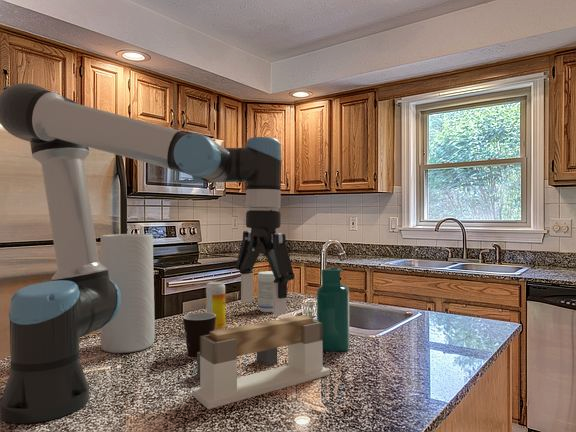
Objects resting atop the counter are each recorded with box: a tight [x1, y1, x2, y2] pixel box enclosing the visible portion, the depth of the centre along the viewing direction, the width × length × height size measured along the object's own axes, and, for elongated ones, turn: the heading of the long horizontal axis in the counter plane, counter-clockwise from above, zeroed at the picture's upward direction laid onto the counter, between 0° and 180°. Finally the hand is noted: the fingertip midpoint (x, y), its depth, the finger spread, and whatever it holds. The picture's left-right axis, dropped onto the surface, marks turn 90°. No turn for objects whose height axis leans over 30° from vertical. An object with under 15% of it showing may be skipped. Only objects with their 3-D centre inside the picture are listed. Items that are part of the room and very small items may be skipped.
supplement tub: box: [257, 270, 275, 313], centre depth 166 cm, size 10×10×15 cm
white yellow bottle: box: [205, 281, 227, 331], centre depth 139 cm, size 6×6×15 cm
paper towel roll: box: [99, 233, 156, 354], centre depth 121 cm, size 14×14×32 cm
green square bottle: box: [316, 267, 351, 352], centre depth 119 cm, size 10×8×22 cm
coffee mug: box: [182, 312, 216, 359], centre depth 116 cm, size 12×9×10 cm
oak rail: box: [210, 314, 314, 357], centre depth 93 cm, size 24×4×5 cm, turn 125°
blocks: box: [196, 348, 278, 377], centre depth 103 cm, size 19×5×5 cm, turn 125°
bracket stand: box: [191, 319, 331, 410], centre depth 93 cm, size 30×8×12 cm, turn 125°
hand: (262, 307), depth 93 cm, fingers open, 13 cm apart
